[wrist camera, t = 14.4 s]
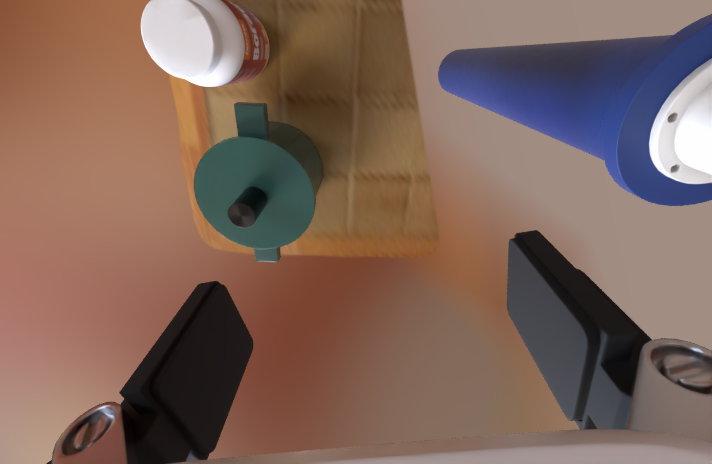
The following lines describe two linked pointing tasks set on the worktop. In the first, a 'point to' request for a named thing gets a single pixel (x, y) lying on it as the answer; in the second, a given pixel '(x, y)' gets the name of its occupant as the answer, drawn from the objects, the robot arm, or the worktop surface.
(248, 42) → the pill bottle
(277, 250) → the pot
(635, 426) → the robot arm
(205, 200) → the pot lid
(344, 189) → the worktop surface
